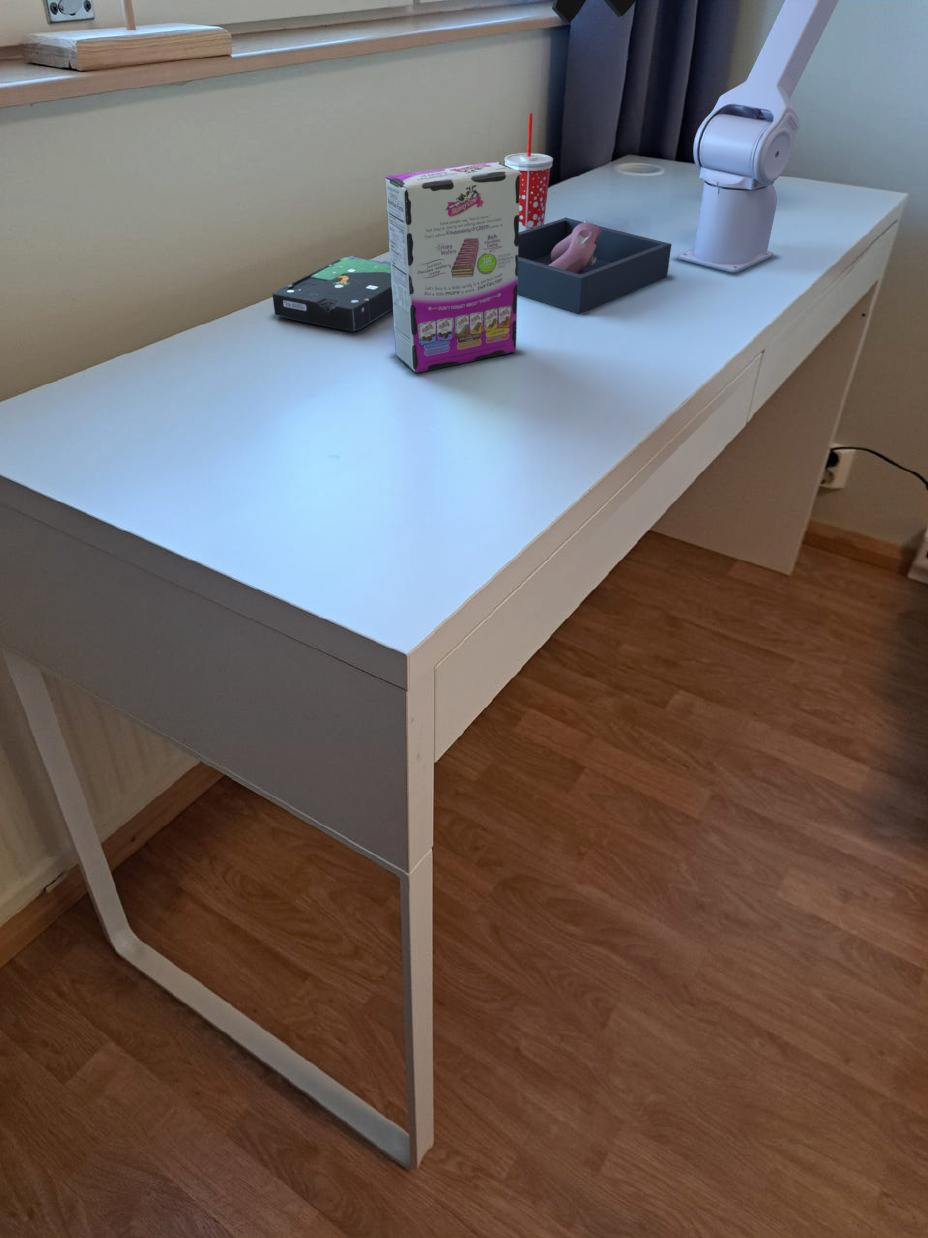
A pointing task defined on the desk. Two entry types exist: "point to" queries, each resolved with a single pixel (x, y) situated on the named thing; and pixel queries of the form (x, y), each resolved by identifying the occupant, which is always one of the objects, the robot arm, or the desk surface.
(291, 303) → the disk drive
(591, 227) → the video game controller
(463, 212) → the candy bar box
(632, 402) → the desk surface
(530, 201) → the beverage cup
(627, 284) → the bin
